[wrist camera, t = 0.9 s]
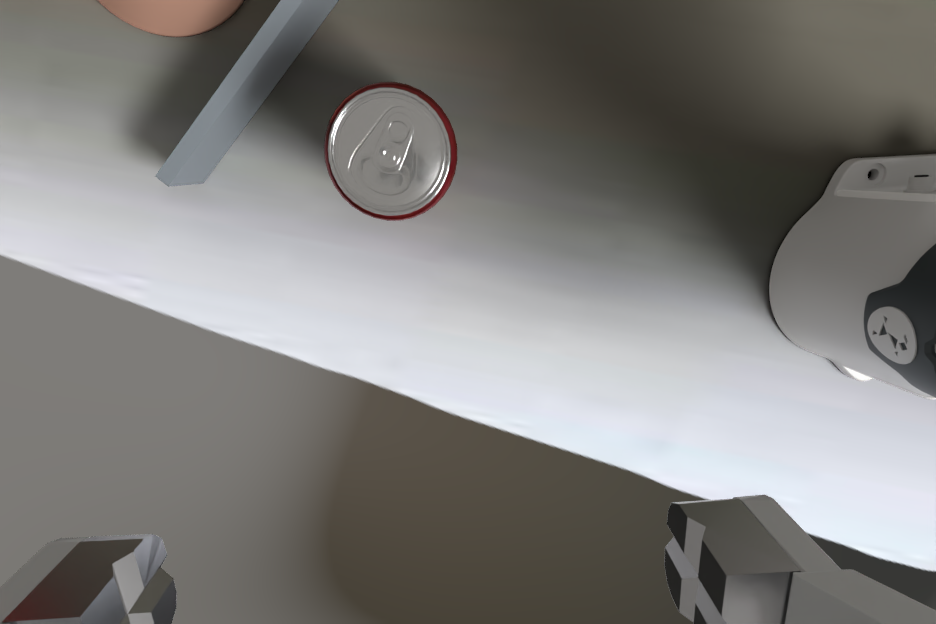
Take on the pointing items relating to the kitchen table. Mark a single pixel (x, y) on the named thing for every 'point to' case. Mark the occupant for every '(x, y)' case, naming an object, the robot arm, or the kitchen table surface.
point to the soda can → (390, 151)
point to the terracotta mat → (173, 15)
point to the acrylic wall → (244, 90)
